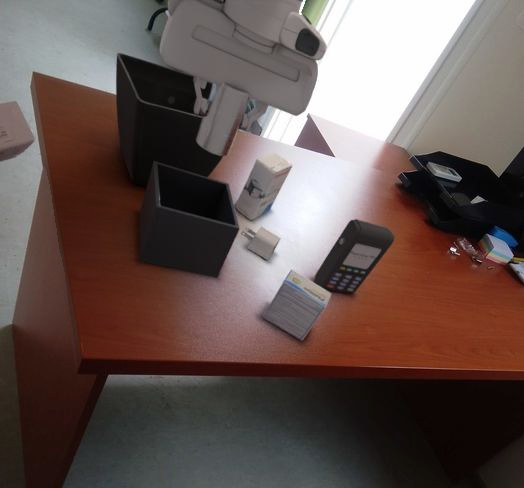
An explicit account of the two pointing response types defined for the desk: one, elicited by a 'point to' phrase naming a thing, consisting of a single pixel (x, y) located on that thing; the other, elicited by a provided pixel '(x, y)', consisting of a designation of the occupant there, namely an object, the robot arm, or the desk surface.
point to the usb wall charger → (262, 242)
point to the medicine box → (297, 305)
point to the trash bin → (186, 221)
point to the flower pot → (159, 119)
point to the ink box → (263, 185)
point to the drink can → (222, 119)
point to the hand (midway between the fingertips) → (221, 121)
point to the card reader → (353, 256)
